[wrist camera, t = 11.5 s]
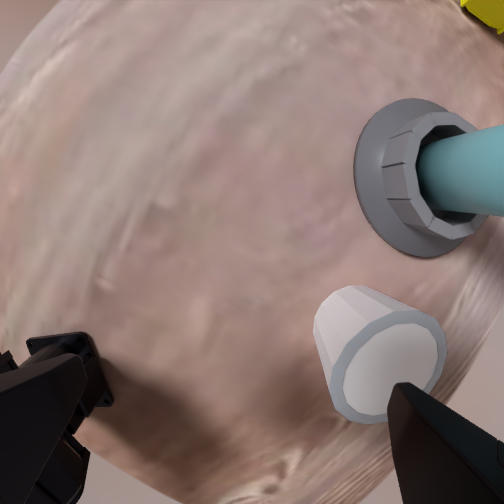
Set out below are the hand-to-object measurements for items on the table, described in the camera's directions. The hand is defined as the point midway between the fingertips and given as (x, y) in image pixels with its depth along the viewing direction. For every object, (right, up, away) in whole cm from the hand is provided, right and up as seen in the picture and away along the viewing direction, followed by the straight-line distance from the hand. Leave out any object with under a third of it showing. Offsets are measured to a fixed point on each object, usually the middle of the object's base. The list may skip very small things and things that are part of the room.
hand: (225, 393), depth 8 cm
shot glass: (+8, -1, +13) cm, 15 cm away
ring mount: (+13, +9, +11) cm, 19 cm away
